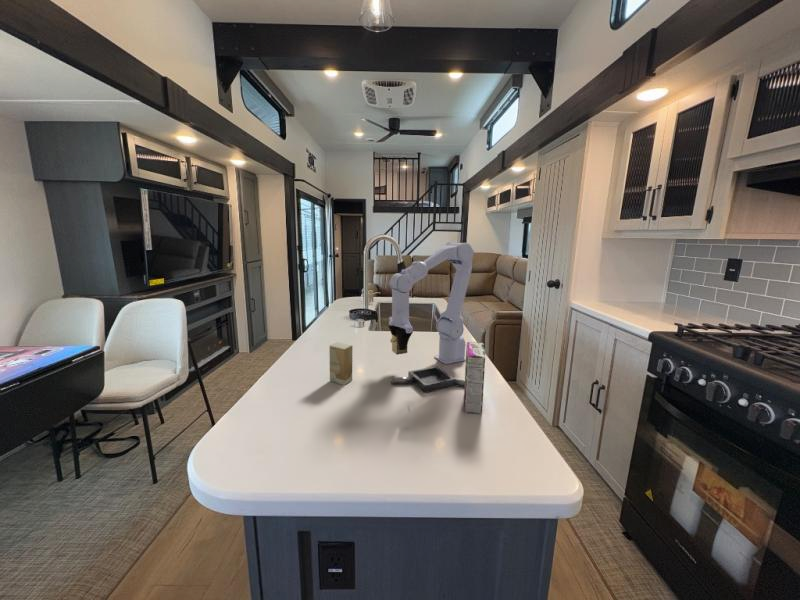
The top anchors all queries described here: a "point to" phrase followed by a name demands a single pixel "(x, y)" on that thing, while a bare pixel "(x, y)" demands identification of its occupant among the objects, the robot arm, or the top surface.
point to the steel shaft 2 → (459, 383)
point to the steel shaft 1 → (402, 380)
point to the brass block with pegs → (396, 345)
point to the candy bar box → (474, 377)
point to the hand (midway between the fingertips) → (400, 347)
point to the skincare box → (341, 363)
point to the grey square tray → (432, 379)
